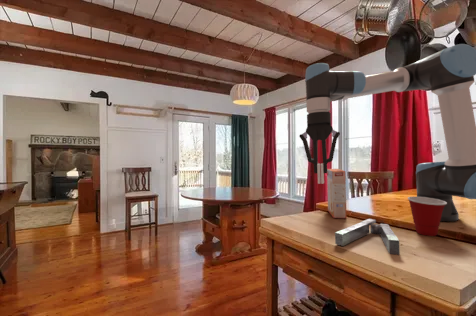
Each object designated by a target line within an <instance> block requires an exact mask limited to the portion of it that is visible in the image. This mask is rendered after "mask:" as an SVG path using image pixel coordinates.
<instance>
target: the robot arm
mask: <svg viewBox="0 0 476 316" xmlns="http://www.w3.org/2000/svg"><path fill="white" fill-rule="evenodd" d="M474 76H476V48H475V47H473V46H471V44H465V43H459V44H458V43H457V44H454V45H452V46H449V47H448V46H447V47H446V48H444V49H441V50H440V51H438V52H435V53H433V54H431V55H428V56H426V57H424V58H421V59H419V60H417V61H416V62H413V63H410V64H408V65H404V66H401V67H396V68H395V69H394V70H391V71H386V72H380V73H375V74H374V73H373V74H369V75H365V74H364V72H363V71H357V70H344V71H340V70H339V71H337V70H335V71H333V70H330V66H329V64H328V63H325V62H317V63H313V64H311V65H309V66H308V67H306V69H305V80H304V81H305V93H306V98H305V99H306V104H305V105H306V113H308V114H307V115H306V124H307V126H306V128H305V131H304V132H303V133H301V134H299V136H298V137H299V138H300V140H301V141H302V143H303V148H304V152H305V156H306V159H307V162H308V163H312V164H313V173H314V174H317V184H318V185H319V184H321V185H322V184H323V185H324V184H325V174H327V169H328V163H331V162H333V159H334V155H335V150H336V145H337V140H338V138H339V137H340V135H341V132H339V131H336V130H335V129H333V126H332V117H331V116H332V114H331V113H332V112H330V111H331V102H337V101H340V100H346V99H351V98H352V99H353V98H358V97H364V96H369V95H375V94H376V95H377V94H381V93H388V92H392V91H393V92H396V93H402V92H403V93H404V92H409V91H418V90H428V89H430V91H431V93H433V94H434V95H436V96H437V100H438V106H439V112H440V117H441V121H442V128H443V134H444V139H445V145H446V146H445V147H446V149H447V150H446V151H447V155H448V159H447V160H445V161H432V162H422V163H418V164H417V165H416V166H415V167H416V171H415V183H416V184H415V185H416V186H415V187H416V197H427V198H433V199H439V200H442V201H445V202H447V204H446V205H445V206H444V208H443V211H442V215H441V220H440V221H453V222H457V220H458V221H459V216H460V215H459V212H458V210H457V208H456V205H455V203H454V200H453V196H454V197H458V198H465V199H468V200H476V118H475V114H474V107H473V101H472V97H471V96H472V95H471V90H470V88H471V86H472V85H473V84H474V83H475V81H476V80H475V77H474ZM329 136H331V137H332V140H331V145H330V146H331V147H330V151H329V156H327V155H328V154H327V152H328V151H327V140H328V138H330V137H329ZM308 137H309V138H310V139H311V140H312V150H313V151H312V152H313V155H312V154H311V150H310V147H309V143H308V140H307V139H308ZM318 141H321V152H322V153H321V154H322V163H319V161H318V159H319V158H318V155H319V154H318ZM312 156H313V158H312Z"/></svg>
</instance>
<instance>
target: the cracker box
mask: <svg viewBox="0 0 476 316" xmlns="http://www.w3.org/2000/svg"><path fill="white" fill-rule="evenodd" d="M346 173H347V172H346V171H345V170H343V169H340V168H327V173H326V177H327V178H326V179H327V180H326V181H327V182H326V183H327V185H326V186H327V211H328V213H329V214H330V215H331V216H332V218H333V219H347V186H346V185H347V183H346V179H347V178H346V177H347V175H346Z"/></svg>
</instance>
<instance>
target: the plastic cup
mask: <svg viewBox="0 0 476 316" xmlns="http://www.w3.org/2000/svg"><path fill="white" fill-rule="evenodd" d="M407 200H408V203H409V206H410V207H409V208H410V211H411V214H412V219H413V224H414V228H415V231H416V233H417V234H419V235H423V236H429V237H433V236H438V232H439V227H440V224H441V222H440V220H441V215H442V211H443V208H444V206H445V205H446V204H447V202H445V201H442V200H439V199H433V198H427V197H417V196H408V197H407Z"/></svg>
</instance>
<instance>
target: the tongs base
mask: <svg viewBox="0 0 476 316" xmlns="http://www.w3.org/2000/svg"><path fill="white" fill-rule="evenodd" d="M370 233H371V234H373V235H379V236H380V237H381V240H382V241H383V243H384V246H385V248H386V251H387V252H388V254H389V253H390V254H389V255H396V254H397V255H398V256H399V255H400V240H399V238H398V237H397V235H396V234H395V233H394V231H393V230H392V228H391V226H390V225H389V224H388V223H380V224H377V223H374V224H372V225H370Z"/></svg>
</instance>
